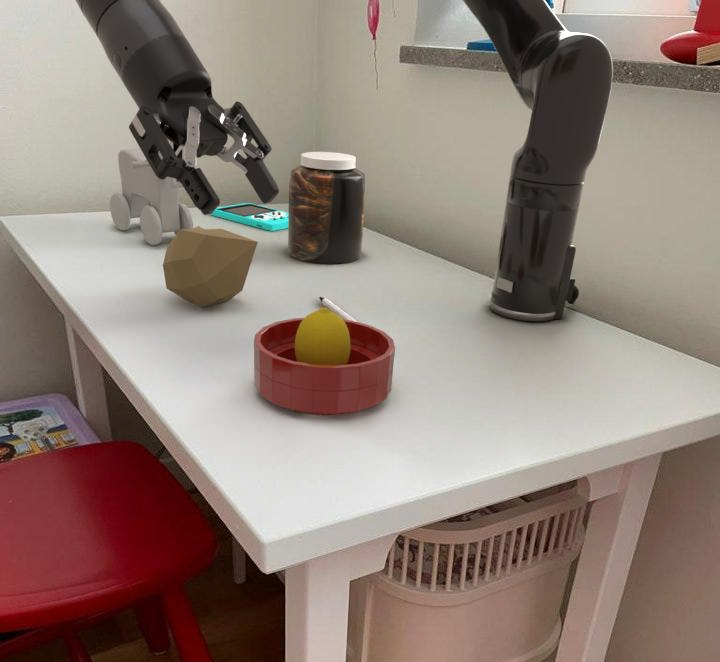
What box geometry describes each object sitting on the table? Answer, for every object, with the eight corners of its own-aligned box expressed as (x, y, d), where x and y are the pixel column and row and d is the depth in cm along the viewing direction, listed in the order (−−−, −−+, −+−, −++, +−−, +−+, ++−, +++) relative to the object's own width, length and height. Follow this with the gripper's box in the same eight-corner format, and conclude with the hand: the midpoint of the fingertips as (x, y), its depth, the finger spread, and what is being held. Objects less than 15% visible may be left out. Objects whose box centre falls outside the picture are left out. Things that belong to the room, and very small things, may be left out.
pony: (214, 247, 125) (210, 134, 116) (156, 255, 119) (147, 137, 110) (156, 221, 138) (148, 118, 129) (100, 227, 132) (89, 119, 123)
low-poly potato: (236, 324, 95) (289, 265, 100) (184, 250, 89) (244, 192, 94) (171, 324, 106) (222, 271, 110) (120, 258, 99) (176, 205, 104)
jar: (342, 268, 119) (347, 165, 111) (275, 256, 122) (276, 155, 115) (371, 252, 128) (378, 156, 121) (308, 241, 132) (311, 147, 124)
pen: (381, 351, 90) (381, 341, 89) (316, 300, 104) (316, 292, 103) (387, 350, 90) (388, 341, 89) (322, 300, 104) (322, 292, 104)
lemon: (323, 369, 82) (326, 295, 78) (359, 386, 79) (364, 310, 75) (282, 381, 79) (283, 304, 74) (318, 399, 75) (321, 320, 71)
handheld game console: (270, 231, 136) (270, 223, 136) (209, 215, 145) (209, 207, 144) (308, 223, 143) (308, 216, 143) (248, 208, 152) (248, 201, 151)
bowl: (384, 367, 85) (388, 320, 83) (395, 423, 74) (401, 370, 71) (259, 363, 84) (258, 314, 82) (250, 419, 72) (249, 364, 70)
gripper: (111, 28, 67) (211, 188, 68) (224, 33, 78) (311, 172, 78) (79, 90, 72) (172, 237, 73) (189, 86, 83) (270, 216, 83)
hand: (244, 203), depth 76 cm, fingers open, 8 cm apart
